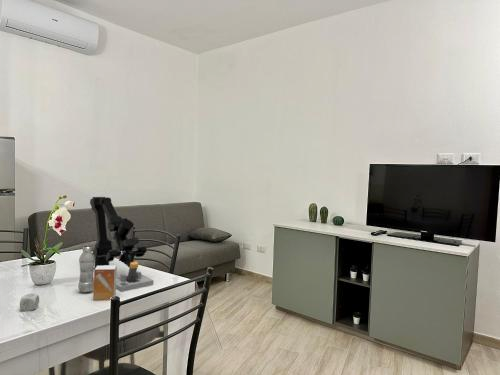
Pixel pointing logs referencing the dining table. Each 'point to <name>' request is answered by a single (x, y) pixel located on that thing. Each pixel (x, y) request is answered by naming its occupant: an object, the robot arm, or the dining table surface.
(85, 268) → the plastic bottle
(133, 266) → the lever
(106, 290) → the small box
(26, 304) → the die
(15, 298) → the dining table surface
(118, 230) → the robot arm
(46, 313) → the dining table surface
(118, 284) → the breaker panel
